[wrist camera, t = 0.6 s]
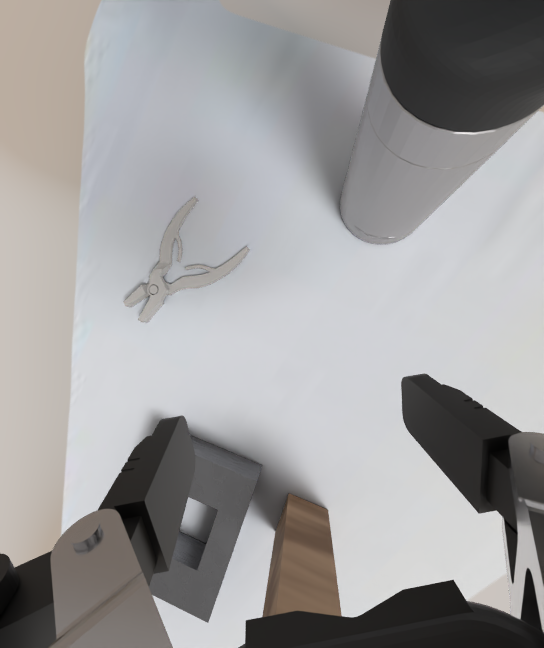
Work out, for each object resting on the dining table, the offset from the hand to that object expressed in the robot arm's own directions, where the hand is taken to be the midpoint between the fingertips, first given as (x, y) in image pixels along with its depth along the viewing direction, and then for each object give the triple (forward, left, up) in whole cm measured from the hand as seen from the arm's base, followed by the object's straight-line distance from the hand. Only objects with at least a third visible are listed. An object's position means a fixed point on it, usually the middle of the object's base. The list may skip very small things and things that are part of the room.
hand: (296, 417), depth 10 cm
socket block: (+20, -6, -22) cm, 30 cm away
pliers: (-6, -17, -22) cm, 29 cm away
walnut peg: (+16, +6, -22) cm, 28 cm away
